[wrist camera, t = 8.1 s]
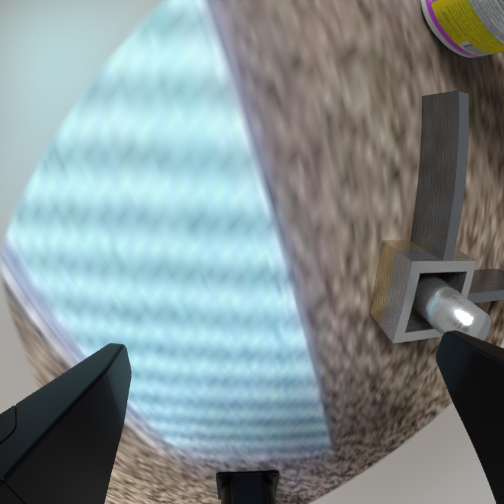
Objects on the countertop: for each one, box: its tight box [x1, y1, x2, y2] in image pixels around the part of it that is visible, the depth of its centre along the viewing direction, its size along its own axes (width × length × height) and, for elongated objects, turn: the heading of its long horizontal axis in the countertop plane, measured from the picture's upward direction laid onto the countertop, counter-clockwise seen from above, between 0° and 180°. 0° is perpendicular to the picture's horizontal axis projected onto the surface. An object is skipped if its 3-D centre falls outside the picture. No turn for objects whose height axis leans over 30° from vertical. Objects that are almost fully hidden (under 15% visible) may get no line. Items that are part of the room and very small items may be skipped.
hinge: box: [370, 91, 504, 343], centre depth 18 cm, size 15×13×4 cm
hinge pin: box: [412, 273, 491, 341], centre depth 17 cm, size 3×3×8 cm
